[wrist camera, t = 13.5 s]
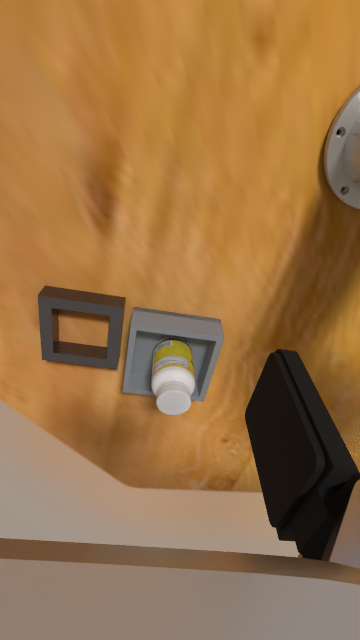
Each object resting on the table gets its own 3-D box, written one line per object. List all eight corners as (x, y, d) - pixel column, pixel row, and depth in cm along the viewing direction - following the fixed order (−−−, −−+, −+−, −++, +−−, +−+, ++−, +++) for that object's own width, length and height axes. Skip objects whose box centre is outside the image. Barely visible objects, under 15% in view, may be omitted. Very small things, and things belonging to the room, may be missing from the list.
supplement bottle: (184, 369, 47) (187, 423, 38) (148, 360, 46) (143, 414, 37) (197, 340, 44) (203, 392, 36) (160, 330, 43) (157, 381, 35)
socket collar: (125, 297, 41) (123, 307, 39) (119, 357, 46) (116, 368, 44) (45, 285, 40) (37, 295, 38) (48, 348, 45) (42, 359, 43)
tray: (220, 319, 43) (224, 337, 40) (201, 381, 49) (203, 401, 46) (133, 306, 42) (130, 324, 38) (125, 372, 48) (122, 392, 45)
